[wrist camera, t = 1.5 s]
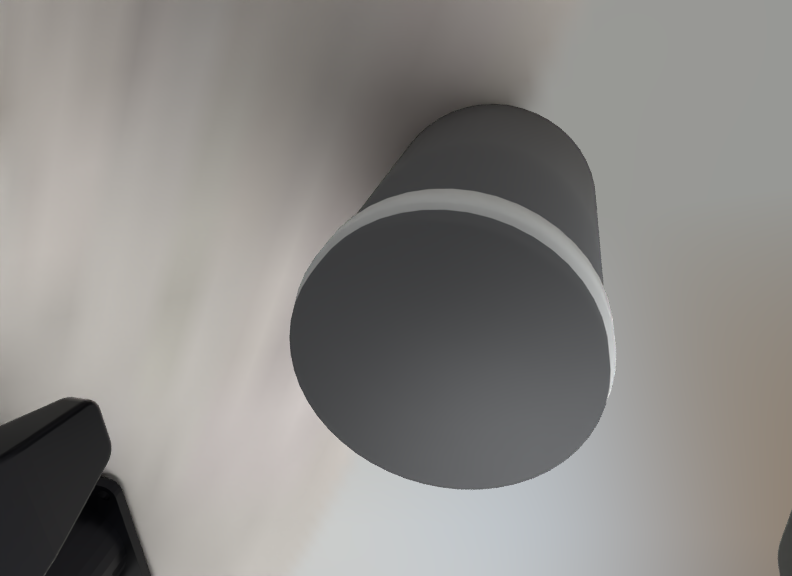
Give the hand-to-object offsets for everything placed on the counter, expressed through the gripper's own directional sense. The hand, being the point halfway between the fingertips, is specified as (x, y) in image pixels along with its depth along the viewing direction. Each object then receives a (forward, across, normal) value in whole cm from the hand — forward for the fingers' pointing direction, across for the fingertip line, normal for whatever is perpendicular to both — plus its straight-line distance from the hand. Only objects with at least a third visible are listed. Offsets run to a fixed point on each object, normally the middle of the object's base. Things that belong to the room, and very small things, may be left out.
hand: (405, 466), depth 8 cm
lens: (+9, 0, 0) cm, 9 cm away
